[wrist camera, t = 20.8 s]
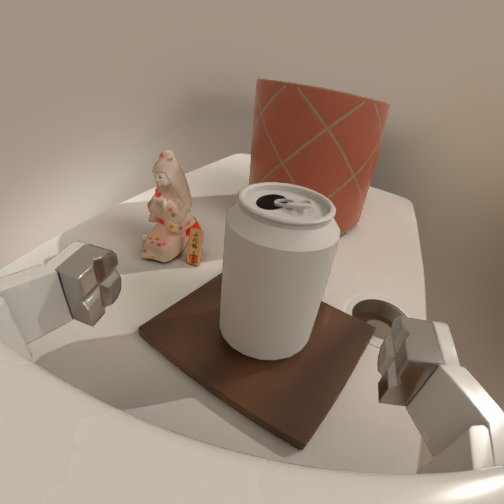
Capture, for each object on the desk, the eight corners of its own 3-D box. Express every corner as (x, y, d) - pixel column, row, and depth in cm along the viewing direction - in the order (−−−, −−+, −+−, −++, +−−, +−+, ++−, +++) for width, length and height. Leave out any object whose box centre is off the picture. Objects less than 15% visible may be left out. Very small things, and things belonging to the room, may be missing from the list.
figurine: (122, 252, 35) (123, 149, 30) (158, 236, 40) (163, 145, 36) (183, 275, 32) (190, 157, 27) (216, 254, 37) (226, 153, 33)
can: (244, 292, 30) (259, 169, 23) (318, 321, 27) (355, 196, 21) (201, 342, 24) (203, 198, 17) (288, 381, 21) (332, 238, 15)
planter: (266, 183, 59) (280, 81, 49) (363, 208, 54) (387, 102, 44) (222, 220, 44) (234, 76, 34) (354, 258, 39) (393, 104, 28)
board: (372, 334, 27) (376, 327, 27) (302, 450, 17) (305, 445, 17) (239, 268, 35) (240, 260, 34) (139, 335, 25) (137, 327, 24)
